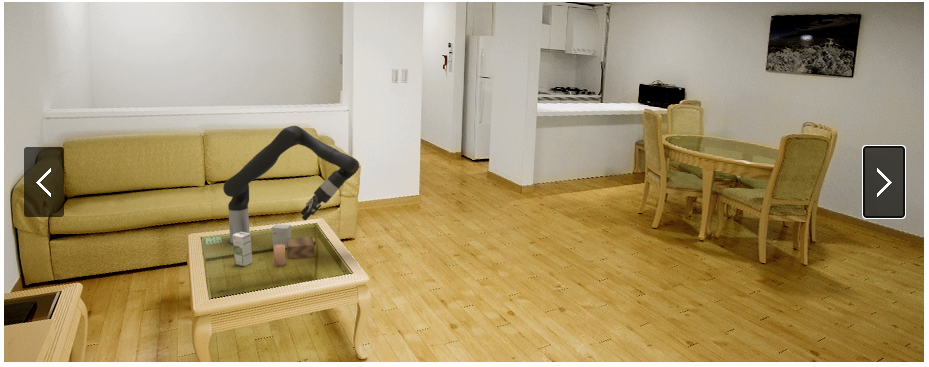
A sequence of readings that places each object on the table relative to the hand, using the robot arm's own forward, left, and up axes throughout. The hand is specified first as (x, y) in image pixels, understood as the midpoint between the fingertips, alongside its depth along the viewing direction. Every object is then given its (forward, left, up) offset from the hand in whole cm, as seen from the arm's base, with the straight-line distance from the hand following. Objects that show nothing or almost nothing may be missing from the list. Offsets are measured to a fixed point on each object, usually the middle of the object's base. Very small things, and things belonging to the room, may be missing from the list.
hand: (302, 216), depth 285 cm
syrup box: (-27, 0, -21) cm, 34 cm away
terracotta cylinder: (-11, -5, -21) cm, 24 cm away
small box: (-9, +20, -21) cm, 30 cm away
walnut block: (-1, +7, -21) cm, 22 cm away
